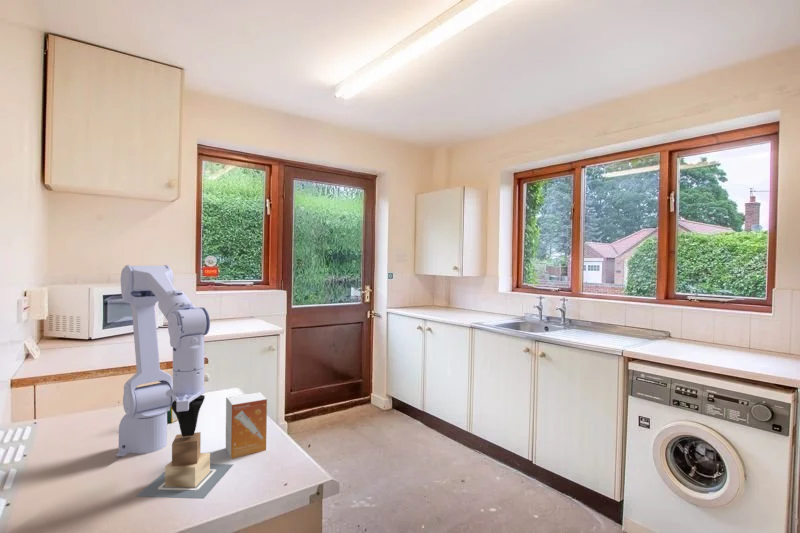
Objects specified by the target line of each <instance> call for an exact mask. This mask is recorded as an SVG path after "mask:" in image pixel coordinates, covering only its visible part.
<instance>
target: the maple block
mask: <svg viewBox="0 0 800 533" xmlns="http://www.w3.org/2000/svg"><path fill="white" fill-rule="evenodd" d="M210 464H211V452H209V453H208V452H200V456H199V459H198V462H197V463H196V464H189V465H181V466H173V467H172V460H171V461H170V462H168V463H167V465H165V466H164V472H165V487H191V488H195V487H196V486H197V485H198V484H199V483H200V482H201V481H202V480H203V479H204V478H205V477H206V476H207V475H208V474H209V473H210Z"/></svg>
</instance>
